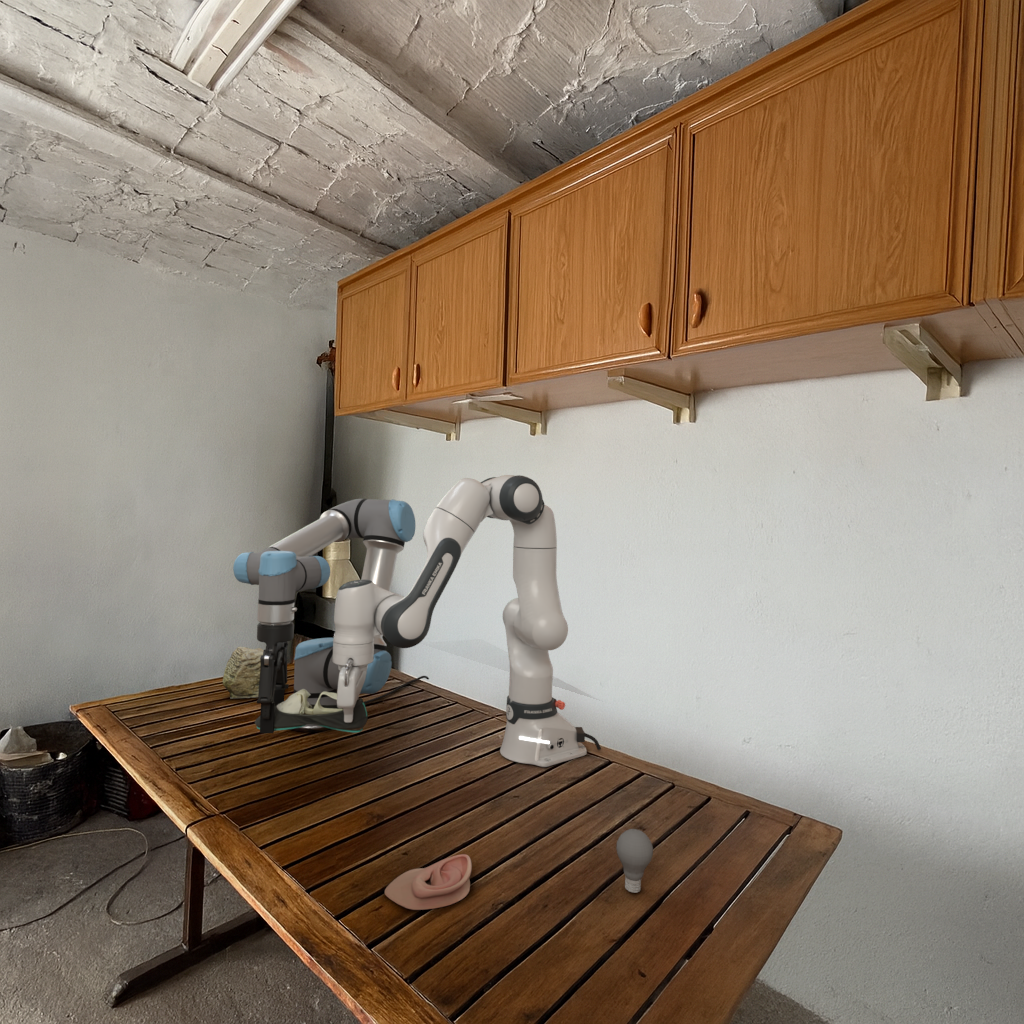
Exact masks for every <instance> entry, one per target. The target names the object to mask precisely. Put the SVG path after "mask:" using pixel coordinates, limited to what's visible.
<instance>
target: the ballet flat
mask: <svg viewBox="0 0 1024 1024" xmlns="http://www.w3.org/2000/svg"><path fill="white" fill-rule="evenodd" d="M323 694H325V695H327V696H329V697H331V698H333V699H336V700H337V693H332V692H322V693H321V694H320V696H319V698H318V700H317V702H316V704H315V705H314V704H309V702H308V701H307V698H308V697H309V696H310V693H309V692H307V691H306V690H305V689H302V690H300V691H298V692H296V693H294V692H293V693H292V694H291V695H289V696H288V697H287V699H285V700H284V702H282V703H279V704H277V705H276V706H275V715H274V731H286V730H292V729H294V728H299V727H303V726H305V725H307V724H313V725H319V726H322V727H326V728H330V729H329V730H335V731H340V732H345V733H355V734H357V733H361V732H362V731H363V730H364V727H365V726H366V724H367V723H368V719H369V716H368V711H367V707H366V704H364V702H365V701H364V700H363V698H362V697H359V698H358V700H357V702H356V704H355V707H354V708H353V712H354V714H353V721H352V722H344V711H343V709H341V708H338V707H337V705H320V698H321V696H322V695H323ZM254 724H255V727H256V729H257V730H259V731H260V715H259V716H258V717H257V718H255V720H254Z"/></svg>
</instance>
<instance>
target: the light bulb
mask: <svg viewBox="0 0 1024 1024" xmlns="http://www.w3.org/2000/svg"><path fill="white" fill-rule="evenodd" d="M615 849H616V854H617V857H618V859H619V861H620V863H621V865H622V867H623V873H624V874H623V875H624V876H625V878H624V888H625V890H627V891H628V892H630V893H634V894H635V893H639V892H640V891H641V889H642V887H641V886H642V879H643V877H644V875H645V871H646V868H647V867H648V866H649V864H650V863H651V861H652V859H653V855H654V847H653V843H652V841H651V838H649V836H648V835H647V834H646V833H645V832H643V831H642V830H641V829H636V828H629V829H627V830H625V831H623V832H622V833H621V834H620V835H619V837H618V839H617V841H616V847H615Z"/></svg>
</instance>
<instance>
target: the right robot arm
mask: <svg viewBox="0 0 1024 1024" xmlns="http://www.w3.org/2000/svg"><path fill="white" fill-rule="evenodd" d="M486 518H489V519H496V520H500V521H509V522H510V524H511V526H512V529H513V547H512V549H513V551H512V579H513V581H514V584H515V589H516V593H517V597H515V598H513V599H511V600H510V601H508V602H507V603H506V604H505V606H504V608H503V611H502V621H503V624H504V628H505V635H506V636H505V637H506V647H507V653H508V662H509V677H508V678H509V680H508V682H509V683H508V695H507V697H506V705H505V706H506V708H505V716H506V717H505V719H506V724H505V729H504V735H503V738H502V743H501V745H500V749H499V753H500V755H501V756H502V757H503V758H505V759H507V760H509V761H512V762H515V763H519V764H527V765H533V766H537V767H540V768H548V767H551V766H554V765H559V764H561V763H564V762H567V761H571V760H575V759H577V758H580V757H584V756H587V754H588V752H587V747H586V746H585V745H584V744H583V743H585V742H586V738H587V739H590V741H592V742H593V743H594V744H595V746H596V749H597V750H598V751H600V750H601V749H602V748H601V745H600V743H599V740H597V738H596V737H594V736H593V735H591V734H589V733H586V732H585V731H584V729H583V727H582V726H575V725H574V724H573V723H572V722H571V721H569V720H568V719H567V718H566V717H564V715H562V714H561V713H560V712H558V709H559V710H561V711H562V710H565V708H566V702H564V701H563V700H561V699H558V700H557V699H556V698H554V696H553V679H554V668H553V667H554V666H553V664H552V661H551V658H550V654H549V651H554V650H557V649H559V648H560V647H561V646H562V645H563V644H564V642H565V641H566V639H567V637H568V634H569V624H568V622H567V620H566V618H565V616H564V613H563V608H562V603H561V597H560V593H559V592H560V591H559V586H558V578H557V577H558V576H557V563H558V562H557V554H558V553H557V551H558V538H557V537H558V535H557V526H556V519H555V514H554V511H553V509H552V508H551V507H550V506H548V505H546V504H545V501H544V498H543V493H542V490H541V488H540V487H539V484H538V483H537V482H536V481H535V480H533V479H532V478H531V477H528V476H525V475H520V474H519V475H515V474H504V475H499V476H492V477H489V478H486V479H484V480H482V481H478V480H477V479H475V478H469V477H463V478H460V479H459V480H457V481H456V482H455V483H454V484H453V485H452V486H451V487H450V489H449V490H447V492H446V493H445V494H444V496H443V497H442V498H441V499H440V501H439V502H438V503H437V504H436V506H435V508H434V509H433V511H432V512H431V514H430V515H429V517H428V519H427V521H426V524H425V525H424V527H423V530H422V537H423V542H424V545H425V547H426V560H425V563H424V565H423V568H422V569H421V571H420V573H419V574H418V576H417V578H416V579H415V581H414V583H413V585H412V587H411V588H410V590H409V592H408V593H407V594H406V595H405V596H404V595H401V594H399V593H396V592H392V591H391V592H390V591H387V590H385V589H383V588H381V587H379V586H377V585H376V584H374V583H373V582H372V581H371V580H361V579H355V580H351V581H347V582H345V583H343V584H342V585H341V586H340V587H338V589H337V593H336V595H335V602H334V612H333V613H334V614H333V623H334V629H335V632H334V635H333V638H334V639H333V663H335V664H337V665H338V669H339V670H340V673H339V679H338V690H337V707H338V708H341V709H343V711H344V722H352V721H353V714H354V712H353V708H354V707H355V704H356V702H357V700H358V699H360V695H361V694H360V692H361V689H362V687H363V684H364V682H365V678H366V673H367V666H368V664H370V663H372V662H373V658H374V637H375V636H376V635H383V636H382V637H384V638H385V639H386V640H387V642H388V643H390V644H391V645H392V646H393V647H396V648H398V649H409V648H413V647H416V646H417V645H419V644H420V643H422V642H423V640H424V639H425V638H426V636H427V635H428V633H429V630H430V628H431V622H432V617H433V613H434V610H435V608H436V606H437V603H438V602H439V600H440V598H441V596H442V594H443V592H444V590H445V588H446V586H447V585H448V583H449V581H450V579H451V577H452V576H453V573H454V572H455V569H456V567H457V566H458V563H459V561H460V559H461V556H462V555H463V552H464V551H465V549H466V547H467V546H468V544H469V542H470V541H471V539H472V538H473V536H474V535H475V533H476V531H477V530H478V528H479V526H480V525H481V523H482V522H483V521H484V520H485V519H486ZM557 708H558V709H557Z"/></svg>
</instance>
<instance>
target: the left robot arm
mask: <svg viewBox="0 0 1024 1024" xmlns="http://www.w3.org/2000/svg"><path fill="white" fill-rule="evenodd" d="M415 533H416V517H415V513H414V510H413V508H412V507H411V505H410V504H409V503H408V502H406V501H404V500H396V499H378V498H377V499H375V498H356V499H351V500H347V501H344V502H342V503H340V504H338V505H336V506H333V507H330V508H329V509H328V510H326V511H324V512H323V513H321V514H320V516H319V518H318V519H317V520H315V521H313V522H311V523H309V524H307V525H305V526H304V527H302V528H300V529H298V530H297V531H295V532H293V533H291V534H290V535H288V536H286V537H284V538H282V539H280V540H279V541H277V542H275V543H273V544H271V545H269V546H268V547H265V548H264V549H262V550H260V551H258V552H255V551H250V552H249V551H248V552H242V553H240V554H239V555H238V556H237V557H236V558H235V560H234V562H233V567H232V569H233V576H234V577H235V579H236V580H237V581H238V582H240V583H242V584H247V585H251V586H254V585H255V586H258V602H257V617H256V618H257V619H256V620H257V622H258V623H257V625H256V640H257V641H258V642H260V643H264V644H265V649H263V650H264V651H263V655H261V657H260V663H261V668H260V681H259V694H258V697H257V700H256V704H259V705H260V715H259V716H260V730H259V734H274V732H275V730H274V715H275V706H276V705H277V704H279V703H282V702H284V701H285V691H286V690H288V689H289V685H290V684H288V681H289V680H288V646H289V642H290V641H292V640H293V639H294V632H295V631H294V630H295V623H294V622H293V621H294V619H295V612H297V610H298V608H297V607H296V606H295V601H296V600H295V599H296V592H300V591H305V590H315V589H317V588H319V587H322V586H324V585H326V583H327V582H328V581H329V579H330V577H331V567H330V564H329V562H328V561H327V560H326V559H325V557H323V556H319V555H315V554H317V553H319V552H320V551H322V550H323V549H325V548H327V547H328V546H330V545H331V544H333V543H340V542H342V541H345V540H347V539H363V541H362V544H363V545H364V546H365V548H366V553H365V558H364V563H363V568H362V574H361V577H360V580H371V581H372V582H373V583H374V584H376V585H377V586H379V587H381V588H383V589H385V590H387V591H390V592H392V587H393V581H394V574H395V570H396V565H397V558H398V554H399V553H401V552H402V551H404V548H405V543H408V542H410V541H412V540H413V538H414V536H415ZM383 637H384V636H383V635H376V636H375V637H374V658H373V662H372V663H370V664H368V666H367V673H366V678H365V682H364V684H363V687H362V689H361V692H360V694H359V695H362V694H366V695H373V694H376V693H378V692H379V691H380V690H382V689H383V687H384V686H385V685H386V683H387V682H388V680H389V677H390V674H391V671H392V665H393V662H392V656H391V654H390V652H388V651H387V643H386V642H385V640H384V638H383ZM333 639H334V637H321V638H313V639H307V640H304V641H302V642H299V643H298V644H297V645H296V647H295V652H294V653H295V654H294V658H293V660H294V672H293V694H294V693H296V692H298V691H300V690H302V689H305V690H306V691H307V692H309V693H310V696H309V697H308V698H307V701H308V702H309V704H314V705H315V704H316V702H317V700H318V698H319V696H320V694H321V693H322V692H332V693H337V690H338V679H339V673H340V670H339V669H338V665H337V664H335V663H333ZM422 679H426V680H430V678H429V677H428V676H427V675H421V676H419V677H416V678H414V679H412V680H409V681H407V682H405V683H403V684H401V685H399V686H398V687H396V688H394V689H392V690H391V691H389V692H386V693H384V694H382V695H380V696H376V697H373V698H371V699H367V700H365V701H363V702H364V704H365V705H366V704H370V703H372V702H376V701H378V700H381V699H383V698H385V697H387V696H390V695H391V694H394V693H395V692H397V691H398V690H401V689H402V688H404V687H406V686H408V685H410V684H412V683H415V682H418V681H419V680H422ZM283 689H286V690H283ZM320 705H337V700H336V699H333V698H331V697H329V696H327V695H325V694H323V695H322V696H321V698H320ZM329 730H331V729H330V728H326V727H322V726H319V725H313V724H307V725H305V726H303V727H299V728H294V729H291V731H294V732H295V731H296V732H301V733H316V732H325V731H329Z"/></svg>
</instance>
